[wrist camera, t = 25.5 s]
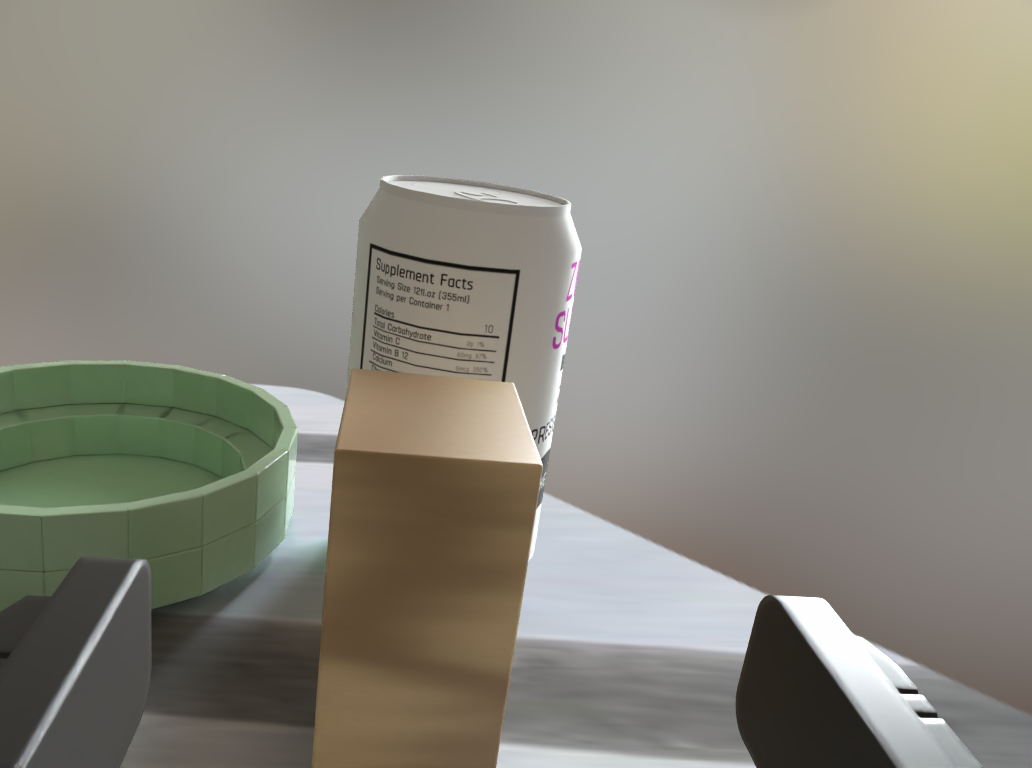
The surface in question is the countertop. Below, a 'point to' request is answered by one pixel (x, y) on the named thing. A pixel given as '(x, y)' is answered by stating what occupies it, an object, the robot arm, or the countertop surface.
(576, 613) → the countertop surface
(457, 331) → the supplement can
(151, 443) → the bowl
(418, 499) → the light brown wooden block
